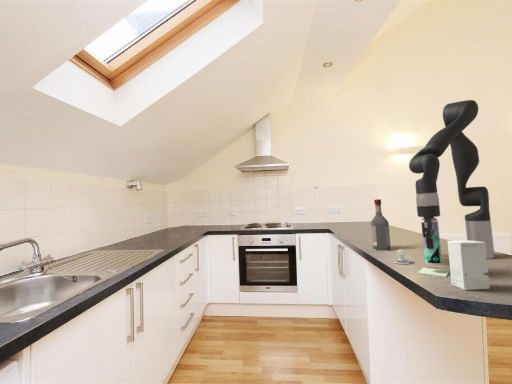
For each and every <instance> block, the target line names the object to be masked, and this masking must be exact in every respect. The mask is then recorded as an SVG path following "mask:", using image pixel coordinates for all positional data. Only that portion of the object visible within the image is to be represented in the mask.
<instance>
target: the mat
mask: <svg viewBox="0 0 512 384" xmlns="http://www.w3.org/2000/svg"><path fill="white" fill-rule="evenodd" d="M417 274H419V275H428V276H433V277H443V278H447V277H448V275H449V274H450V271H449V270H440V269H431V268H428V267H422V268H421V269H419V271H418V272H417Z"/></svg>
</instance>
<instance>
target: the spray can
mask: <svg viewBox="0 0 512 384" xmlns="http://www.w3.org/2000/svg"><path fill="white" fill-rule="evenodd" d="M420 222H421V225H422V223H424V217H422V218H421V220H420ZM431 223H432V226H433V225H434V224H435V225H434V233H433V245H434V248H433V249H428V248H427V246H426V239H425V238H424V235H423V228H422V227H421V232H422V234H421V235H422V243H423V253H424V255H423V256H424V263H425V264H426V265H427V266H428V265H442V258H441V253H442V248H441V241H440V231H439V229H440V228H439V221H438V218H436V217H432V218H431ZM431 230H432V228H431ZM427 235H429V233H427Z"/></svg>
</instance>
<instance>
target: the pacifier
mask: <svg viewBox="0 0 512 384" xmlns="http://www.w3.org/2000/svg"><path fill="white" fill-rule="evenodd" d="M396 254H397V256H398V258H396V257H392V259H393V260H394V263H395V264H397V265H409V264H411V262H410V260H411V257H407V258H405V251H404V249H402V248H399V249H397V252H396Z"/></svg>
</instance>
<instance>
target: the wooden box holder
mask: <svg viewBox="0 0 512 384" xmlns="http://www.w3.org/2000/svg"><path fill="white" fill-rule="evenodd" d="M441 258H442V265H428V264H427V266H428V267H427V268H431V269H440V270H449V271H450V263H449V253H442V252H441Z"/></svg>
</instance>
